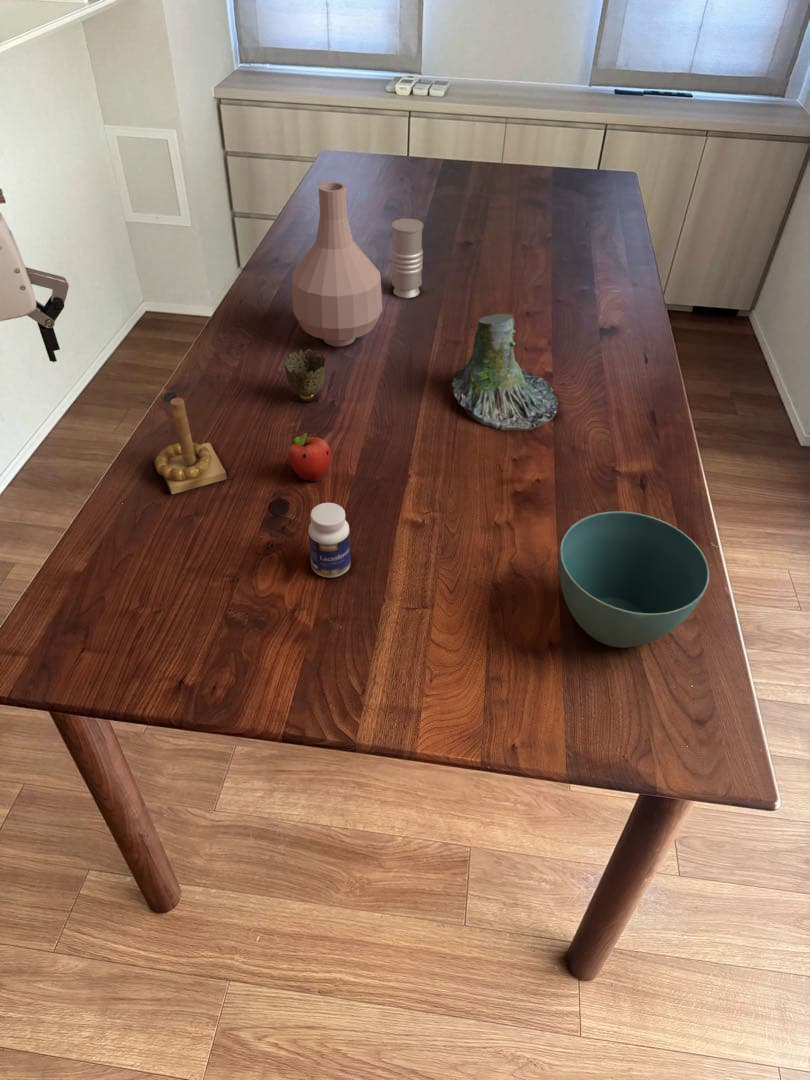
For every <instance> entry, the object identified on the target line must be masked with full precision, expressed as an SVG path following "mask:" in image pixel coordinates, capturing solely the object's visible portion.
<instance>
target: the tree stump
mask: <svg viewBox="0 0 810 1080" xmlns="http://www.w3.org/2000/svg"><path fill="white" fill-rule="evenodd" d="M476 326H477V328H476V332H475V334H474V335H475V336H474V341H473V345H472V353H471V356H470V357H469V359H468V360H467V363H465V366H463V367H462V368H460V369H458V371H457V375H456V376H455V377H454V378H453V379H452V381H453V382H451V385H452V388H453V396H454V398H455V399H456V401H457V403H458V404H459V406H461V407H462V409H464V411H465V412H466V413H467V415H468V416H469V417H471V418H472V419H474V421H477V422H479V424H481V425H484V426H487V427H492V428H494V429H497V430H500V431H531V430H534V429H537V428H539V427H542V426H544V425H547V424H549V423H550V422H551V420H553V419H554V418H555V416H556V414H557V412H558V406H559V402H558V398H557V396H556V394H555V391H554V390H553V387H552V386H551V385H550V384H549V383H548V381H547V380H545V379H544V378H543V377H541V376H539V375H534V373H533V374H532V373H531V372H530V371H528V370H526V368H523V367H522V368H521V367H520V365H519V364H518V362H517V361H516V358H515V354H514V353H515V352H514V346H515V345H516V342H515V340H514V337H515V334H516V330H515V329H514V326H515V319H514V315H513V314H510V313H496V314H495V313H494V314H492V315H491V314H490V315H486V316H482V317H481V318H479V319H478V324H477V325H476Z"/></svg>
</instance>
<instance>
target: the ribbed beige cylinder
mask: <svg viewBox="0 0 810 1080" xmlns="http://www.w3.org/2000/svg"><path fill="white" fill-rule="evenodd" d="M391 228H392V248H391V251H390V253H391V256H390V257H391V261H390V263H391V265H390V269H391V270H392V271H391V272H392V273H391V285H392V286H393V287H394V289H393V294H394V295H395V296H397V297H399V298H403V299H404V298H405V299H409V298H410V299H411V298H414V297H417V296H419V294H420V292H421V290H420V287H421V286H422V284H423V279H422V278H423V277H422V271H423V261H424V260H423V259H424V255H423V253H424V250H423V229H424V223H423V222H422V221H420V220H418V219H415V218H399V219H396V220H394V221H392V222H391Z"/></svg>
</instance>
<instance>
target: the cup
mask: <svg viewBox="0 0 810 1080" xmlns="http://www.w3.org/2000/svg"><path fill="white" fill-rule="evenodd" d="M287 356H288V357H287ZM287 356H285V357H284V360H282V362H283V365H284V371H285V375H286V379H287V383H288V385H289V387H290V389H291V390H292V391H293V393H294V394H296V396H297V398H298V400H299V401H300V402H303V403H312V402H314V401H316V400H317V398H318V393H319V392H320V391H321V390H322V388H323V387H324V383H325V376H326V364H327V360H326V359H327V358H326V357H325V355H324V354H321V355H317V351H315V350H314V351H312V350H311V349H307V350H306V351H304V352H303V350H302V349H300V350H299V352H298V353H297V352H296V351H293V352H292V353H288V355H287Z"/></svg>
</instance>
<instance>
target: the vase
mask: <svg viewBox="0 0 810 1080" xmlns="http://www.w3.org/2000/svg"><path fill="white" fill-rule="evenodd" d="M318 203H319V204H318V205H319V220H318V226H317V234H316V241H315V242H314V244H313V245H312V246H311V248H309V250H308V251H307V253H306V254H305V256H304V257H303V258H302V259H301V261H300V262H299V264H298V265H297V266H296V268H294V270H293V272H292V273H291V291H292V292H291V293H292V295H291V296H292V312H293V314H294V316H295V318H296V320H297V322H298V324H299V325H300V327H301V328H302V330H303V331H304V332H305V333H307V334H309V335H310V336H312V337H313V338H318V339H321V340H323V342H324V343H325V344H326V345H329V346H333V347H344V346H345V347H346V346H348V345H351V344H352V343H354V342H355V340H356V339H358V338H360V337H363V336H365V335H366V334H368V333H370V332H371V331H373V329H374V328H375V326H376V325H377V322H378V320H379V318H380V316H381V314H382V312H383V295H382V294H383V293H382V278H381V271H380V270H379V269H378V268H377V267H376V265H374V264H373V262H372V261H371V260H370V259H369V257H368V256H367V255H366V254H365V252H364V251H363V250H362V249H361V248H360V246H359V245H358V244H357V243H356V242H355V241H354V238H353V234H352V231H351V226H350V222H349V217H348V207H347V185H346V184H345V183H343V182H338V181H326V182H322V183H320V184H318Z"/></svg>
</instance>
